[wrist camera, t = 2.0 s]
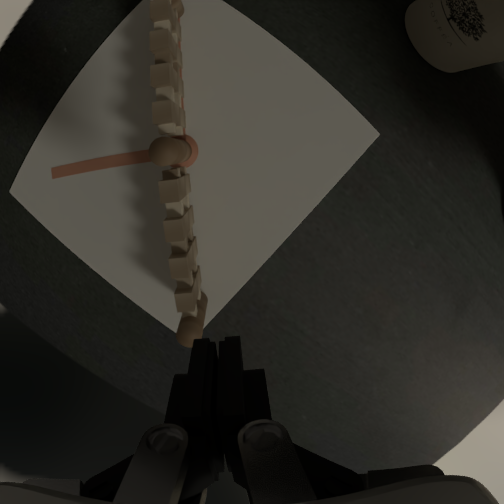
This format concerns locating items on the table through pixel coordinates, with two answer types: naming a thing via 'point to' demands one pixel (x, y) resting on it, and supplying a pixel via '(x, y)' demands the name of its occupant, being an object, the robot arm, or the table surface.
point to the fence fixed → (167, 83)
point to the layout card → (202, 158)
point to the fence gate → (183, 254)
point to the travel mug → (457, 32)
